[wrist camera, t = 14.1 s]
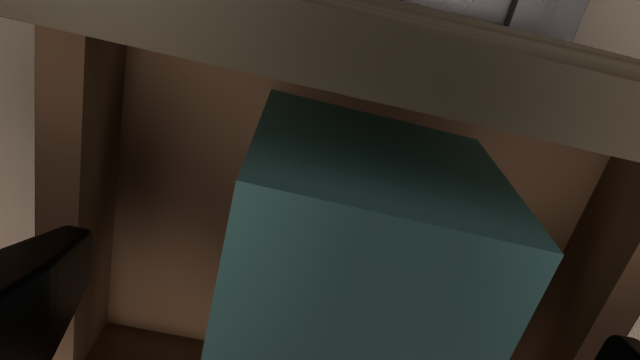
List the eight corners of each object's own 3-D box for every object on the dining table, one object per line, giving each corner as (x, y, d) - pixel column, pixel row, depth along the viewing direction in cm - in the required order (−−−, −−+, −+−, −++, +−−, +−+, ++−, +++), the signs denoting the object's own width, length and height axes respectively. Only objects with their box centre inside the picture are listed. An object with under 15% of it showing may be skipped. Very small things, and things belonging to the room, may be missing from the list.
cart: (152, -72, 13) (-57, -86, 6) (604, 40, 14) (888, 142, 7) (124, 261, 17) (-19, 486, 10) (475, 329, 18) (568, 578, 11)
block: (233, 266, 13) (188, 423, 8) (270, 89, 11) (236, 180, 7) (411, 304, 13) (450, 471, 9) (477, 139, 11) (564, 254, 7)
